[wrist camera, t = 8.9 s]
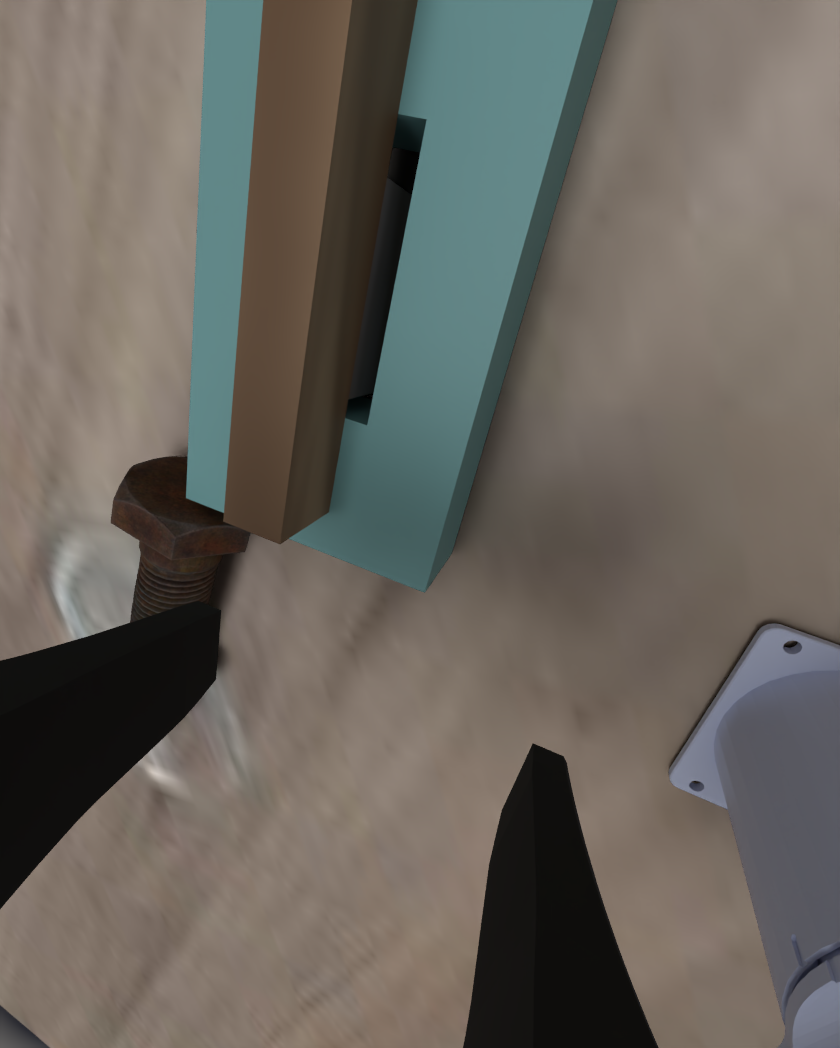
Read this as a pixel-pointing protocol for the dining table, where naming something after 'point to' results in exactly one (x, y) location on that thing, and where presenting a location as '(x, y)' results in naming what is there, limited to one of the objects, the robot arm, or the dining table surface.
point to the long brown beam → (314, 250)
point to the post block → (408, 260)
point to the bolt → (171, 536)
